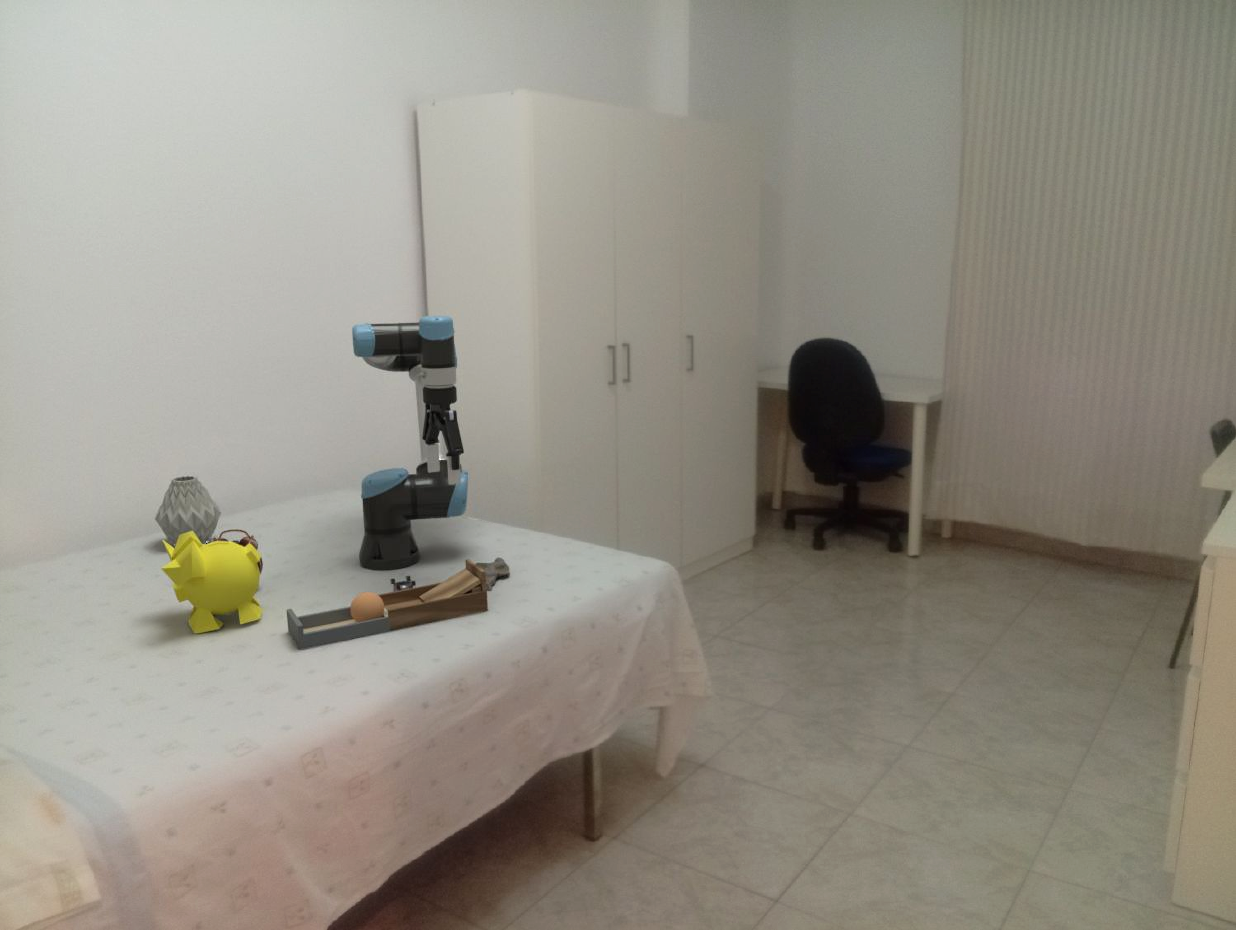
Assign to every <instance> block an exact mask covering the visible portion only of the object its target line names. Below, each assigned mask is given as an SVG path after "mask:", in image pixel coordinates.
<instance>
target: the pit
mask: <svg viewBox="0 0 1236 930" xmlns="http://www.w3.org/2000/svg"><path fill="white" fill-rule="evenodd" d="M350 607H351V605H350V606H346V607H340V608H335V609H330V610H326V611H319V612H315V613H314V612H313V613H309V614H304V615H300V616H297V614H296V613H295V612H294V610H293V609H292V608H288V609H285V610H286V619H287V629H288V630H287V631H288V633H289V636H290V637H291V638H292V640H293V641H294V643H295V645H296V646H297V647H298V650H299V651H300V650H301V651H302V650H304V649H305V650H306V649H309V648H315V647H319V646H324V645H330V644H334V643H338V642H339V643H340V642H344V641H349V640H354V639H357V638H362V637H368V636H372V635H376V634H377V635H378V634H381V633H386V632H391V631H390V619H389V617H388V616H387V617H382V618H377V619H372V620H367V621H362V622H356V621H355V620H354V619H353V617H352V615H351V611H350Z"/></svg>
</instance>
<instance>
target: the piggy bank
mask: <svg viewBox="0 0 1236 930" xmlns="http://www.w3.org/2000/svg"><path fill="white" fill-rule="evenodd" d="M161 540H162V542H163V545H164V547H165V550H166V552H167V554H168V557H169V559H170V562H168V563H167V564H166V565H164V566H162V567H161V568H160V570H162V572H163V573H164V574H166V576H167V577H168V578H169V579H170V580H171V581H172V582H173V584H172V587H173V590H174V591H173V592H174V594H175V597H176V599H177V601H178V602H179V603H182V602H185V601H188V602H189V603H190V604H191V605H192V606H193V608H192V610H191V613H190V615H189V617H188V619H187V620H188V624H189V626H190V629H192V632H193V633H194V634H195V635H197V634H201V633H207V632H210V631H215V630H216V631H217V630H219V629H221V627H222V626H223V625H224V622H222V621H220V620H219V619H217V618H216V617H215V616H226V615H229V614H232V613H235V612H238V616H239V618H238V619H239V624H240V625H243V624H247V623H250V622H253V621H257V620H260V619H261V616H262V614H263V608H262V607H260V606H261V605H260V601H259V600H257V598H255V594H256V593H257V591H258V589H259V586H260V578H261V577H260V576H261V574H260V571H259V568H258V564H257V562H259V561H260V557H261V558H262V555H261V554H260V553H259V551H258V549H257V550H256V549H255V548H254V546H253V545H252V544H250V543H249V544H248V545H247V546H245V547H244V546H241V545H239V544H236V543H234V542H232V541H230V540H228V541H215V542H214V541H213V542H209V543H207V544H205V545H202V543H201V542H200V540H199V539H198V537H197V536H196V534H195V533H194V532H193V531H190V532H187V533H184V534H180V535H179V537H178V540H177V543H176V546H172V545H171V544H169V543H168V542H166V541H165V540H164V539H161Z"/></svg>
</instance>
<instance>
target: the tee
mask: <svg viewBox="0 0 1236 930" xmlns="http://www.w3.org/2000/svg"><path fill="white" fill-rule="evenodd" d="M390 584H391V585H392V586H393V587H392V588H393V592H394V591H400V590H405V589H410V588H414V587H415V586H416V585H417V584H416V580H414V579H413V580H412V579H411V576H410V575H407V576H406V575H405V580H403V581H402V580H401V581H398V582H396V579H395V578H390ZM416 587H417V586H416Z"/></svg>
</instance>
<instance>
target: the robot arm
mask: <svg viewBox="0 0 1236 930" xmlns="http://www.w3.org/2000/svg"><path fill="white" fill-rule="evenodd" d="M351 333H352V335H351V336H352V346H353V347H352V348H353V353H354V355H355V357H356V358H357V357H358V358H362V359H363V361H364V362H365V363H366V364H367V365H369V366H371V367H372V368H375V369H378V370H383V371H387V372H393V373H395V372H396V373H399V372H401V373H403V372H404V373H405V372H406V373H407V372H408V377H409V379H410V380H411V381H412V382H414V383H415V394H416V396H415V397H416V407H417V420H418V421H417V422H418V423H417V424H418V433H419V446H420V447H419V448H420V459H421V462H420V463H419V464H417V466H416V468H415V473H414V474H413V473H411V474H409V471H408V469H407V468H403V467H399V468H398V467H395V468H394V467H392V468H386V469H381V470H378V471H375V472H372V473H370V474H368V475H366V476H365V477H363V478H362V481H361V494H360V497H361V499H362V515H363V516H362V517H363V518H362V519H363V529H364V533H363V534H364V535H363V538H362V541H361V545H360V550H359V555H358V560H359V565H360V566H361V567H363V568H366V569H369V570H370V569H371V570H396V569H401V568H406V567H410V566H411V565H412V566H413V565H415V564H416V563H418V562H419V561H420V559H421V556H420V555H421V554H420V553H421V552H420V547H419V545H418V543H417V540H416V538H415V536H414V533H413V531H412V521H415V520H416V521H417V520H428V519H430V520H431V519H444V518H446V519H449V518H455V517H460V516H463V515H464V514H465V513H466V511H467V503H468V486H469V472H468V470H464V469H462V468H463V467H462V464H461V455H462V454H464V453H465V450H464V445H463V441H462V437H461V432H460V426H459V423H458V422H459V421H458V413H457V410H456V409H455V410H451V404H452V405H453V404H455V403H457V400H458V396H457V395H458V394H457V390H458V389H457V387H456V385H455V384H456V383H457V368H458V356H457V353H456V352H457V351H456V345H455V328H454V321H453V318H452V317H451V316H449V315H448V316H447V315H427V316H422V317H420V318H419V321H418V322H398V323H395V322H394V323H369V322H367V323H361V324H354V325H353V327H352V329H351Z"/></svg>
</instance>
